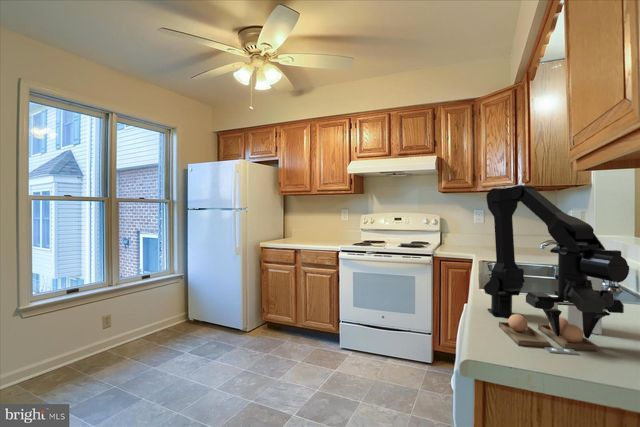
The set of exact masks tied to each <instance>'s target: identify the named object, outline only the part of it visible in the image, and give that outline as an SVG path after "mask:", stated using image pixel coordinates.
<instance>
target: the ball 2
mask: <svg viewBox="0 0 640 427" xmlns="http://www.w3.org/2000/svg"><path fill="white" fill-rule="evenodd" d="M567 320H568V319H566V318H565V317H563V316H559V324H560V333H559V334H561V328H562V327H563V326H564V325H566V324H569V322H568V321H567ZM548 325H549V326H550V328H551V330H552V331H553V329H552V326H551V324H550V322H549V324H548Z"/></svg>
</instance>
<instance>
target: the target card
mask: <svg viewBox="0 0 640 427" xmlns="http://www.w3.org/2000/svg"><path fill="white" fill-rule="evenodd" d="M543 349H544V350H546V351H547V352H548V353H549V354H561V355H562V354H563V355H573V356H579V355H580V353H579V352H577V350H573V349H564V348H563V347H561V348H560V347H551V346H550V347H544V348H543Z"/></svg>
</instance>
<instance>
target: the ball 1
mask: <svg viewBox="0 0 640 427" xmlns="http://www.w3.org/2000/svg"><path fill="white" fill-rule="evenodd" d="M507 322H508V323H509V326H510V327H511V328H512V329H513V330H515V331H524V330H525V329H526V328H527V325H528V321H527V319H526V317H524V316H523V315H521V314H520V313H518V314H517V313H514V315H511V316H510V317H508V320H507Z"/></svg>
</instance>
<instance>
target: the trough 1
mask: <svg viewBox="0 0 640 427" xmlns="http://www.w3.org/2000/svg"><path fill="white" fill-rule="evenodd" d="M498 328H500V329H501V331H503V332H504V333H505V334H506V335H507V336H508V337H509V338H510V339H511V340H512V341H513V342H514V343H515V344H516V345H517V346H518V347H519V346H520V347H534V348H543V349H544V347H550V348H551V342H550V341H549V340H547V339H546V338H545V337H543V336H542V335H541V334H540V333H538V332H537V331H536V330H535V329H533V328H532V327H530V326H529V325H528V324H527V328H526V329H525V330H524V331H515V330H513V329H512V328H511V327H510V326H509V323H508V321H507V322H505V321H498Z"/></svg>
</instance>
